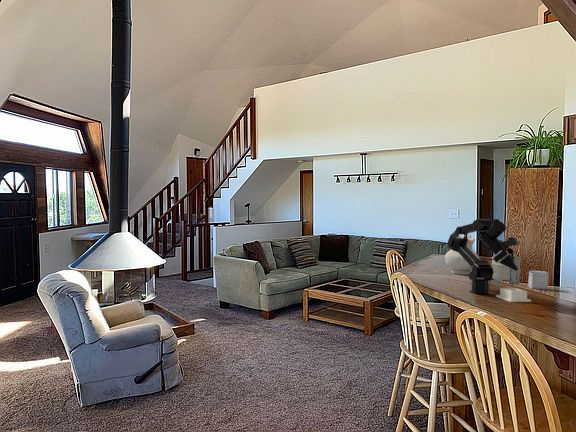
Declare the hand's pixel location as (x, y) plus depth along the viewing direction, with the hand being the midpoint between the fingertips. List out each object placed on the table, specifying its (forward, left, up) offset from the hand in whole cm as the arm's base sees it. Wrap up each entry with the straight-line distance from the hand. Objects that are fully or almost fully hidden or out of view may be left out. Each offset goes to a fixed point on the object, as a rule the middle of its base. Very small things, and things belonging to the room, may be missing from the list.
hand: (518, 269), depth 195 cm
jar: (+31, +54, -14) cm, 64 cm away
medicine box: (+31, +26, -14) cm, 43 cm away
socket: (-1, +1, -13) cm, 14 cm away
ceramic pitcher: (+16, +72, -14) cm, 75 cm away
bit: (-1, +1, -7) cm, 7 cm away
